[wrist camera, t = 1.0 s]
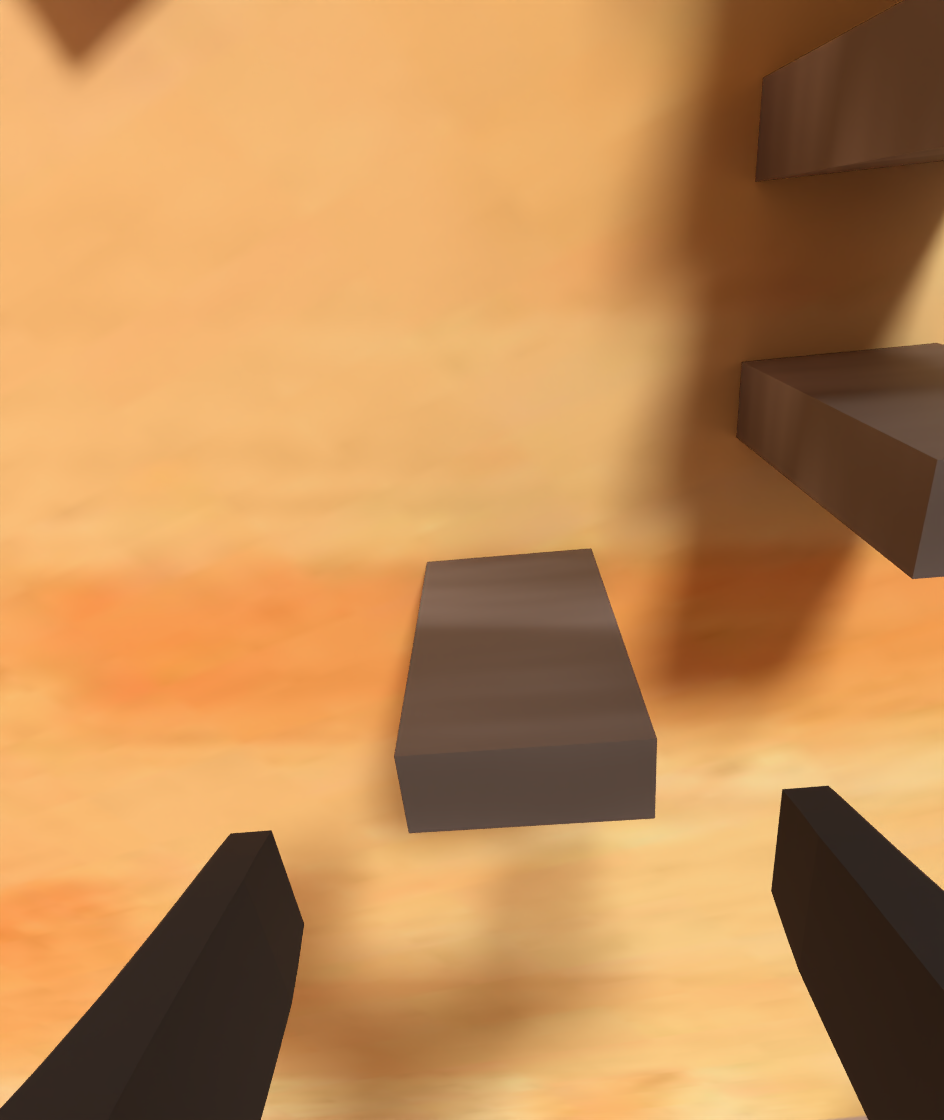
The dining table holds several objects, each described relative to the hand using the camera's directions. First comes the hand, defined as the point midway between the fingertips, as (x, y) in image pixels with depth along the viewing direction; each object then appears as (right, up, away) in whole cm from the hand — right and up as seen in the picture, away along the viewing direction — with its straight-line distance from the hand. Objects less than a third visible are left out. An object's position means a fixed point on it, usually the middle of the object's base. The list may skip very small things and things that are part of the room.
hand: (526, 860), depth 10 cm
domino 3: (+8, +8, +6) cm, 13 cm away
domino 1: (0, +4, +9) cm, 10 cm away
